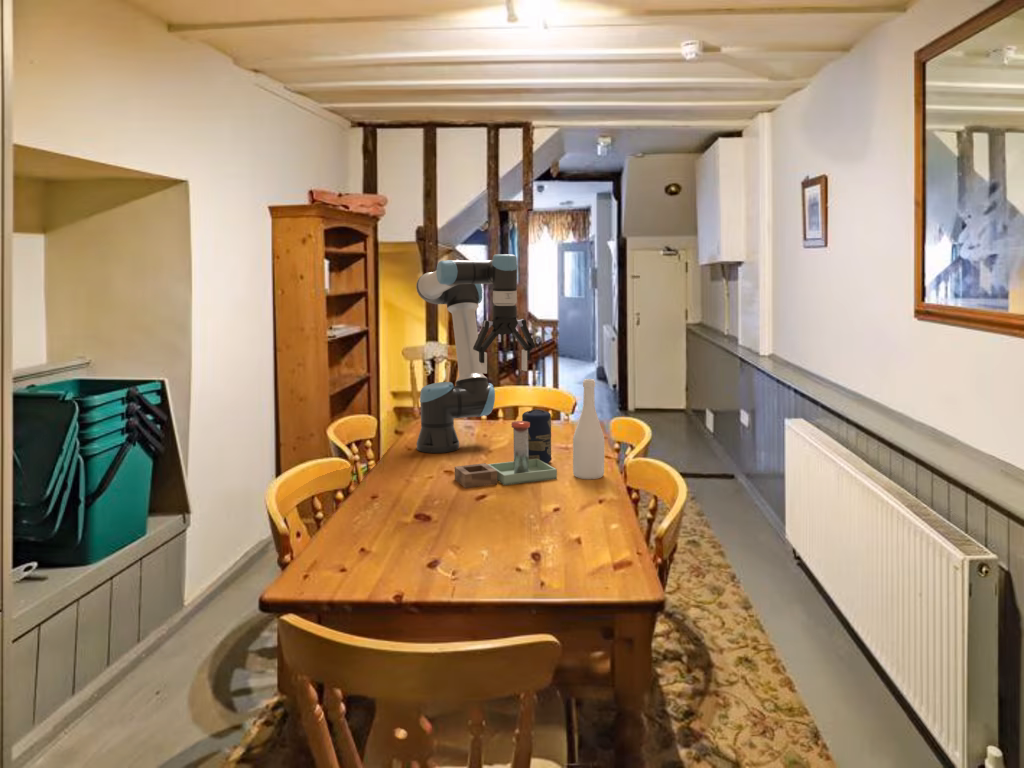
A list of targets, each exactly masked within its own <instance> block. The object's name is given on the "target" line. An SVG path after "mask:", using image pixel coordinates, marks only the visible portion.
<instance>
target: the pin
mask: <svg viewBox="0 0 1024 768" xmlns="http://www.w3.org/2000/svg"><path fill="white" fill-rule="evenodd" d="M529 427H530V422H527V421H522V420H516V421H512V422H511V428H513V461H514V474H516V473H525V472H529V457H528V428H529Z"/></svg>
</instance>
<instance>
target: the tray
mask: <svg viewBox="0 0 1024 768" xmlns="http://www.w3.org/2000/svg"><path fill="white" fill-rule="evenodd" d="M486 464H487V465H489V466H490V467H492V468H493V469H495V470H496V471H497V482H499V484H502V485H503V486H511V485H518V484H525V483H533V482H534V483H535V482H541V481H542V482H543V481H551V480H557V479H558V476H557V475H558V471H557V470H558V468H555V467H553V466H551V465H550V464H549V463H544V462H543V461H541V460H539V459H530V460H529V472H525V473H516V474H514V460H513V461H506V462H503V461H502V462H495V463H486Z"/></svg>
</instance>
